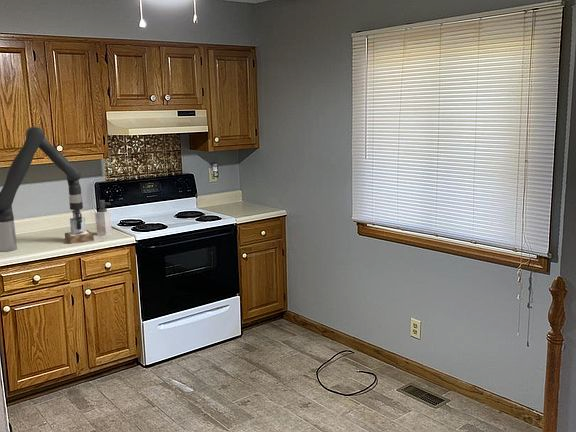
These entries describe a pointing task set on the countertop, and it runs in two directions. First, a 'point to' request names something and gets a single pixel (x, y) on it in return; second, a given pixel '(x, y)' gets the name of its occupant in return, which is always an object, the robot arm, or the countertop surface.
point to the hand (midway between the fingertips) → (78, 228)
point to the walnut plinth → (79, 237)
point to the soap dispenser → (103, 220)
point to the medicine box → (74, 225)
